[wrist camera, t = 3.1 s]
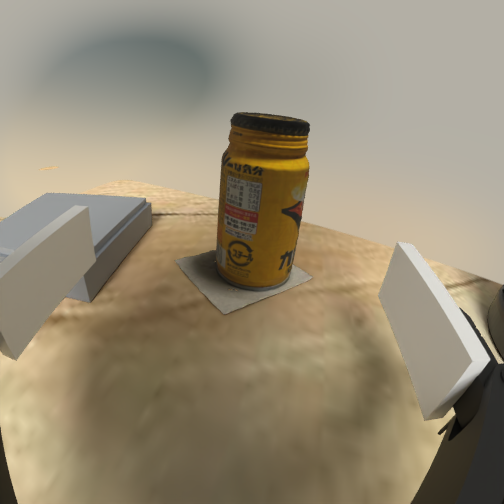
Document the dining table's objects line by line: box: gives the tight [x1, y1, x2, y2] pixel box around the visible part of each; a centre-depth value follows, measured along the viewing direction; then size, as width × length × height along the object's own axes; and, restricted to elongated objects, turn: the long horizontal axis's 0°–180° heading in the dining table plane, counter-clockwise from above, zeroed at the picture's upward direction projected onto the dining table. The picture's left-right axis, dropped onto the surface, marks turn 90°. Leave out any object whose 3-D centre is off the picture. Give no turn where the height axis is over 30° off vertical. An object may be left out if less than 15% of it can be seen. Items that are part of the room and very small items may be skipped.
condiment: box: [175, 112, 313, 315], centre depth 21 cm, size 7×8×12 cm
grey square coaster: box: [0, 193, 152, 302], centre depth 23 cm, size 14×13×3 cm
